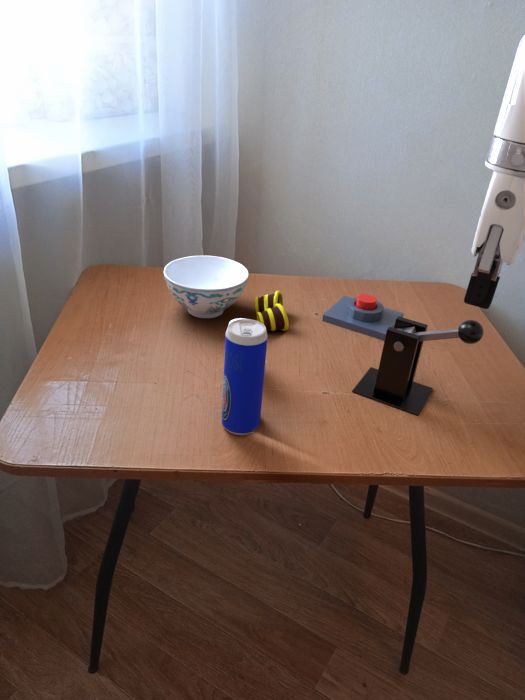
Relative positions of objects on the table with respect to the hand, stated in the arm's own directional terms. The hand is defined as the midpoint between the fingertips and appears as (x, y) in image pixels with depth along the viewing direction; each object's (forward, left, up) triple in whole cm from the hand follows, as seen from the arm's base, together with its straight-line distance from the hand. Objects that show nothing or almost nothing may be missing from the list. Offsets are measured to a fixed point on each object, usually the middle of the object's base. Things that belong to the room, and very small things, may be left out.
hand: (477, 303), depth 72 cm
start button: (+20, -19, -14) cm, 31 cm away
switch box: (+20, -19, -18) cm, 33 cm away
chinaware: (+46, -6, -18) cm, 50 cm away
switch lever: (+3, 0, -7) cm, 8 cm away
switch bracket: (+8, 0, -18) cm, 20 cm away
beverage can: (+23, +19, -18) cm, 35 cm away
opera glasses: (+34, -9, -18) cm, 39 cm away
